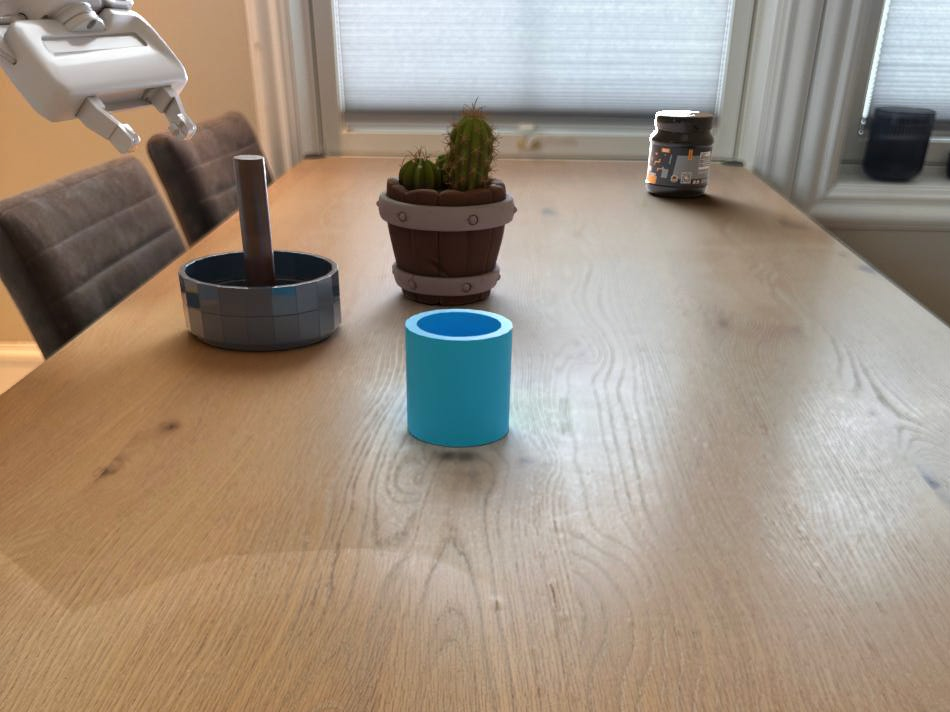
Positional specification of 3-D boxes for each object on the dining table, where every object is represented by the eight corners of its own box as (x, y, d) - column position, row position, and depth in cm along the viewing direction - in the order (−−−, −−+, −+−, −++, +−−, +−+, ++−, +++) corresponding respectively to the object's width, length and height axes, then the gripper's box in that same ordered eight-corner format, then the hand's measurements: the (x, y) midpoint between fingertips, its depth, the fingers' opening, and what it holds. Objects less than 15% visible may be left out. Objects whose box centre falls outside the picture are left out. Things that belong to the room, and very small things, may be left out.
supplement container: (644, 186, 172) (652, 109, 165) (705, 189, 171) (715, 111, 164) (644, 197, 163) (653, 116, 157) (708, 200, 162) (719, 118, 156)
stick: (231, 321, 98) (211, 156, 89) (271, 312, 101) (256, 151, 92) (258, 332, 95) (240, 162, 87) (299, 323, 98) (285, 158, 89)
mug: (517, 444, 75) (522, 339, 71) (412, 448, 74) (410, 342, 70) (492, 390, 85) (495, 294, 81) (399, 393, 84) (396, 296, 80)
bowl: (159, 327, 98) (149, 265, 95) (284, 300, 107) (279, 242, 104) (243, 364, 90) (235, 297, 86) (372, 332, 98) (369, 270, 95)
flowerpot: (352, 293, 110) (342, 91, 99) (447, 271, 120) (448, 83, 108) (444, 321, 102) (444, 104, 91) (538, 294, 111) (549, 95, 100)
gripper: (-17, -15, 79) (110, 129, 82) (133, -14, 95) (234, 106, 98) (-47, 47, 82) (76, 183, 85) (102, 38, 98) (201, 152, 101)
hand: (162, 141), depth 92 cm, fingers open, 8 cm apart
